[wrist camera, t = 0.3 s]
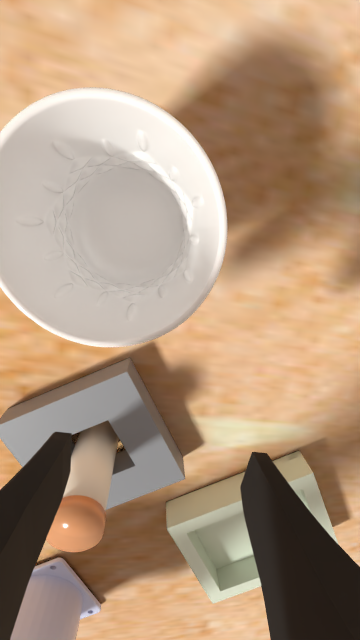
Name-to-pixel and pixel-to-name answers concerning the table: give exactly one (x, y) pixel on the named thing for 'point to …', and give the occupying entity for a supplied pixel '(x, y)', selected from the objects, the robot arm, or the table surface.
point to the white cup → (107, 217)
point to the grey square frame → (94, 408)
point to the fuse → (86, 491)
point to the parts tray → (232, 528)
